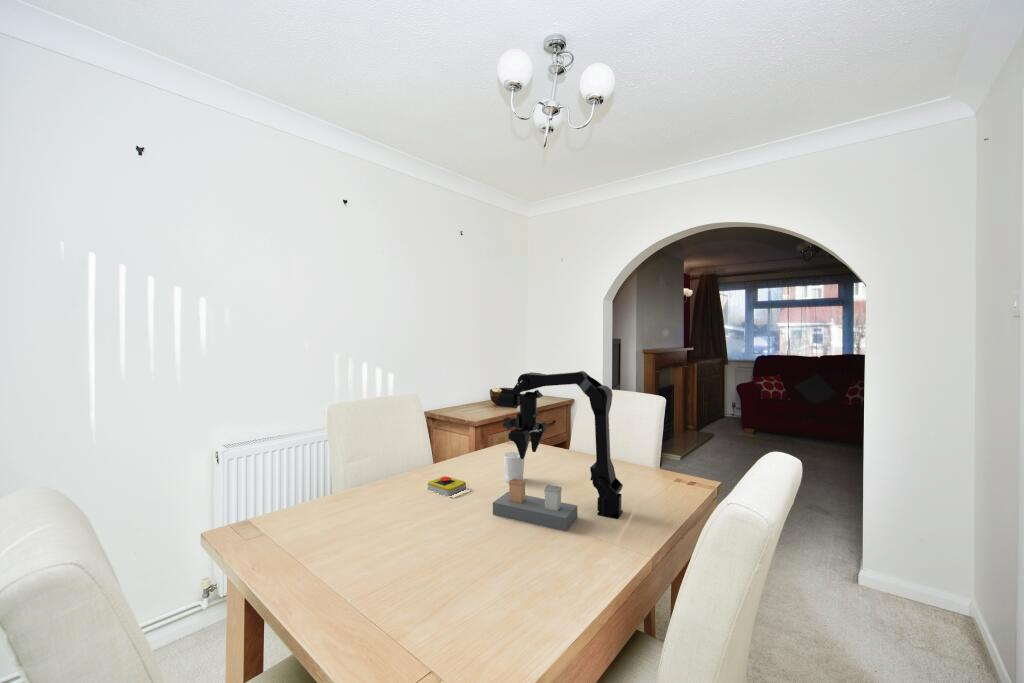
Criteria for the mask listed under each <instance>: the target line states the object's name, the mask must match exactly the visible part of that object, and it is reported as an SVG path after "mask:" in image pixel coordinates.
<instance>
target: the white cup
mask: <svg viewBox="0 0 1024 683" xmlns="http://www.w3.org/2000/svg"><path fill="white" fill-rule="evenodd" d="M503 466H504V467H503V469H504V481H505V482H506V483H508V484H509V481H510V480H512V479H513V478H516V479H521V480H524V474H525V473H524V470H525V458H524V459H521V458H520V455H519V452H518V451H509V452H505V453H504V454H503Z"/></svg>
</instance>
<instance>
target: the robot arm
mask: <svg viewBox="0 0 1024 683" xmlns="http://www.w3.org/2000/svg"><path fill="white" fill-rule="evenodd" d="M566 385H568V386H569V385H577V386H578V387H579V389H580V390H581V391H582V392H583V393H584V394H585V395H586V397H587V398H589V404H590V408H591V410H592V413H593V415H594V429H595V430H594V431H595V433H594V435H595V456H596V461H595V462H594V463H593V464H592V465H591V466H590V467H589V468H590V470H589V471H590V481H591V482H592V486H593V488H595V489H596V490H597V492H598V493H597V494H598V497H597V511H598V512H597V516H600V517H605V518H611V519H615V520H618V519H620V517H621V515H622V513H624V510H623V509H622V493H620V492H621V491H622V489H623V486H624V485H623V484H622V482H621V481H620V480H619V479H618V478H617V476H616V471H615V467H614V464H613V462H612V460H611V442H610V441H611V440H610V439H611V438H610V417H609V416H610V411H611V407H612V401H613V395H614V394H613V391H612V389H611V388H610V387H609V386H607V385H604V384H602V383H601V382H599V381H598V380H597V379H595V378H593V377H592V376H591V375H589V374H588V373H587V372H586V371H584V370H580V371H575V372H574V371H573V372H564V373H563V372H561V373H550V374H545V373H541V372H533V371H532V372H526V373H523V374H520V375H519V376H518V378H517V382H516V384H515V385H514V387H513V388H508V387H503V388H501V389H500V391H501V392H499V396H498V398H497V404H498V406H499V407H500V408H506V409H515V410H516V409H518V408H519V412H517V413H516V416H515V417H512V418H511V417H510V416H507V417H504V418H503V420H502V422H503V423H502V426H503V427H504V428H505V429H506V431H507V430H508V432H507V438H508V440H510V441H511V442H513V443H514V444H515V445H516V448H517V452H519V455H520V458H521V459H524V460H525V457H526V454H527V450H528V448H529V444H530V446H531V452H532V453H536V451H537V449H538V446H539V445H540V443H541V440H542V439H543V436H544V434H545V433H546V431H547V430H548V429H547V426H548V424H547V423H546V422H545V421H541V420H538V416H540V412H539V411H537V410H538V408H537V406H538V404H537V402H538V401H537V400H538V399H540V398H542V397H543V395H544V394H542V393H541V391H539V389H538V388H542V387H549V386H550V387H553V386H566ZM536 389H537V390H536ZM531 390H534V391H531ZM524 392H525V393H524ZM510 429H511V430H510ZM509 430H510V431H509Z"/></svg>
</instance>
